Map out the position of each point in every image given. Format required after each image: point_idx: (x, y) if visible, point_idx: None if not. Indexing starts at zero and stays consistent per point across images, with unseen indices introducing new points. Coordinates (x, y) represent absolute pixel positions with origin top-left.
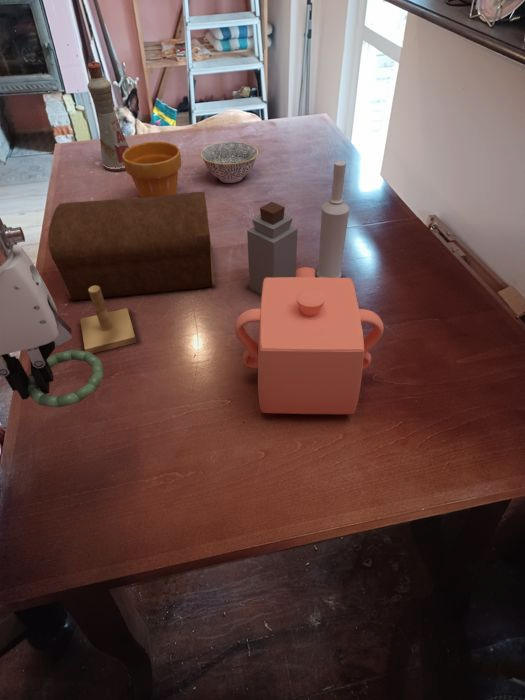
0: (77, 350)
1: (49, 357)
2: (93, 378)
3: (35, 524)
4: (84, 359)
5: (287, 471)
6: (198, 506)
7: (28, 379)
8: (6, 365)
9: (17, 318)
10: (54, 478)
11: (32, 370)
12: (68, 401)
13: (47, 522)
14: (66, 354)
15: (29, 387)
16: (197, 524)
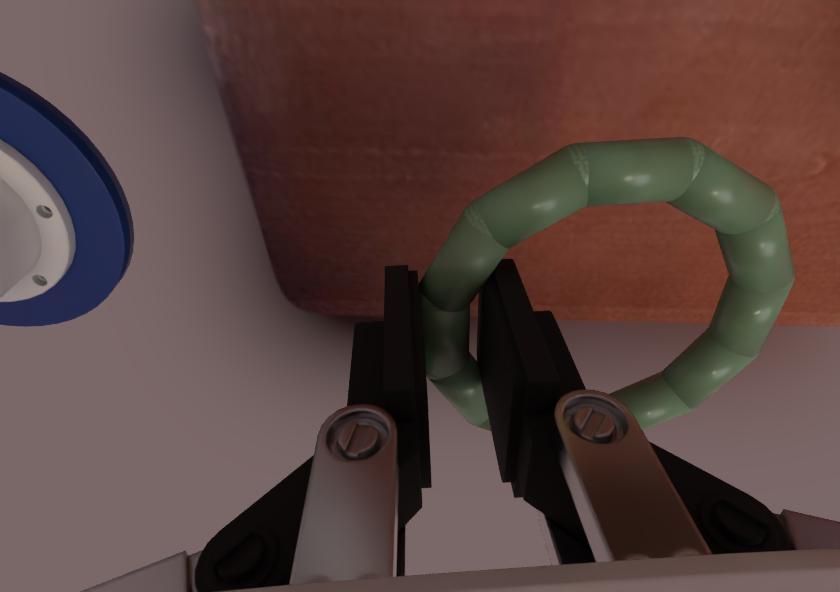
0: (725, 180)
1: (553, 202)
2: (716, 388)
3: (313, 200)
4: (722, 238)
5: (830, 220)
6: (633, 245)
7: (428, 321)
8: (406, 560)
9: None
10: (341, 90)
11: (516, 491)
12: None
13: (338, 202)
14: (654, 199)
15: (437, 371)
16: (615, 276)
